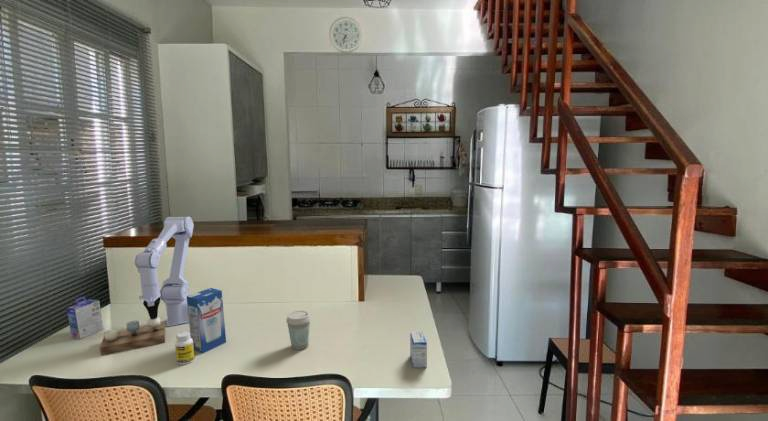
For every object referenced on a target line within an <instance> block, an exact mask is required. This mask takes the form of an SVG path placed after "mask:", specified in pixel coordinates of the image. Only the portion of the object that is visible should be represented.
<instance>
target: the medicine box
mask: <svg viewBox="0 0 768 421" xmlns="http://www.w3.org/2000/svg"><path fill="white" fill-rule="evenodd" d="M409 336H410V337H409V338H410V339H409V345H410V346H409V354H410V355H409V356H410V359H411V363H412V366H413V368H427V367H428V343H427V341H426V337H425V334H424V332H423V331H411V332H410V333H409Z"/></svg>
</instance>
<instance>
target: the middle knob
mask: <svg viewBox="0 0 768 421" xmlns="http://www.w3.org/2000/svg"><path fill="white" fill-rule="evenodd" d="M139 328H141V327H140V321H139V320H131V321H128V322H127V323H126V330H127V331H132V335H135V334H136V330H138V329H139Z"/></svg>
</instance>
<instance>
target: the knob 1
mask: <svg viewBox="0 0 768 421" xmlns="http://www.w3.org/2000/svg"><path fill="white" fill-rule="evenodd" d="M118 332H119V331H118V330H117V329H111V330H107V331H106V332H104V335H105V340H106V341H112V340H115V339H117V338H118Z"/></svg>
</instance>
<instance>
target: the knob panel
mask: <svg viewBox="0 0 768 421" xmlns="http://www.w3.org/2000/svg"><path fill="white" fill-rule="evenodd" d="M165 343H166V324H165V322H164V323H163V322H162V323H161V324H160V325H159V326H157V330H156V331H153V327H149V325H148V326H143V327H142V326H141V327H140V328H139V329H138V330H136V334H135V335H132V331H127V329H126V330H120V331H118V338H117V339H115V340H112V341H106V340H105V334H104V335H103V338H102V341H101V343H100V346H99V351H100V352H99V353H100V356H101V357H103V356H106V355H112V354H117V353H122V352H126V351H131V350H135V349H136V350H137V349H141V348H145V347H149V346H154V345H160V344H165Z"/></svg>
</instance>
